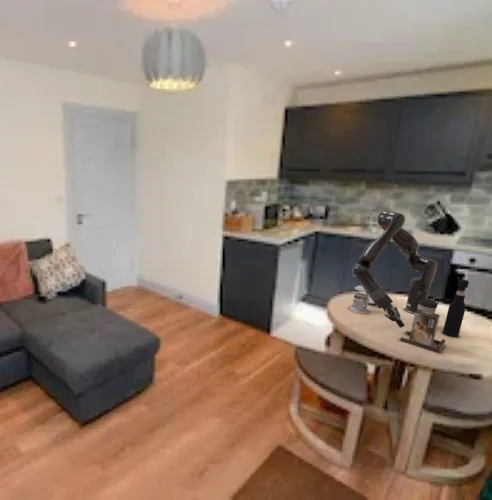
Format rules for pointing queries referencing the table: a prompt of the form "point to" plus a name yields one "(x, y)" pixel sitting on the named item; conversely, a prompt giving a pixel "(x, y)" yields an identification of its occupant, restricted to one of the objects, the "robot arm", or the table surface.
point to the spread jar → (369, 299)
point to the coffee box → (424, 327)
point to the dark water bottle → (456, 311)
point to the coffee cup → (427, 305)
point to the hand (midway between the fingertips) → (402, 326)
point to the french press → (360, 301)
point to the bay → (438, 349)
